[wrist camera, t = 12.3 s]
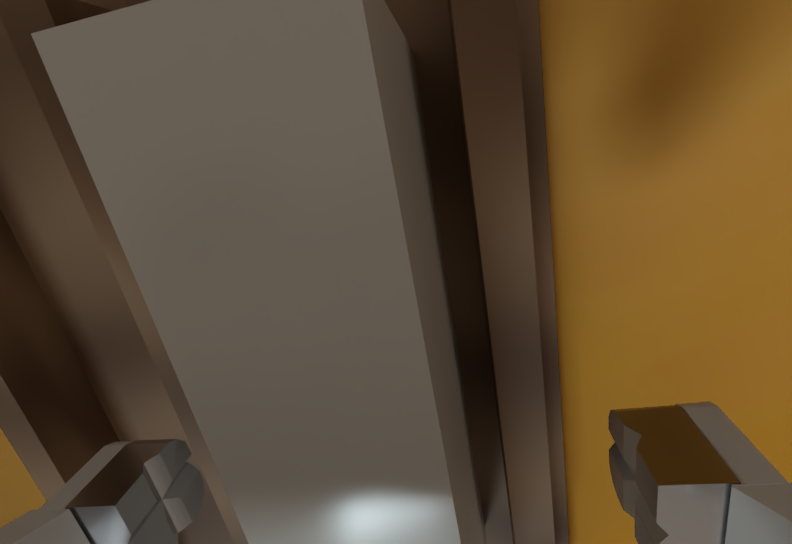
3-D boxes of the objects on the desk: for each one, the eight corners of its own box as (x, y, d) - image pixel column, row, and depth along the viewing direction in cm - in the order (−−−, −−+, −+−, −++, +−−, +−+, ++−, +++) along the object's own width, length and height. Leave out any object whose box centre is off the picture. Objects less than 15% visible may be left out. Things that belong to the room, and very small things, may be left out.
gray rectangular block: (485, 526, 13) (510, 818, 8) (394, 528, 14) (359, 804, 8) (413, 50, 9) (353, -56, 3) (280, 79, 9) (31, 34, 4)
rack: (564, 559, 15) (590, 661, 12) (172, 562, 18) (120, 646, 15) (519, -136, 8) (556, -263, 5) (-102, 42, 11) (-288, 20, 8)
